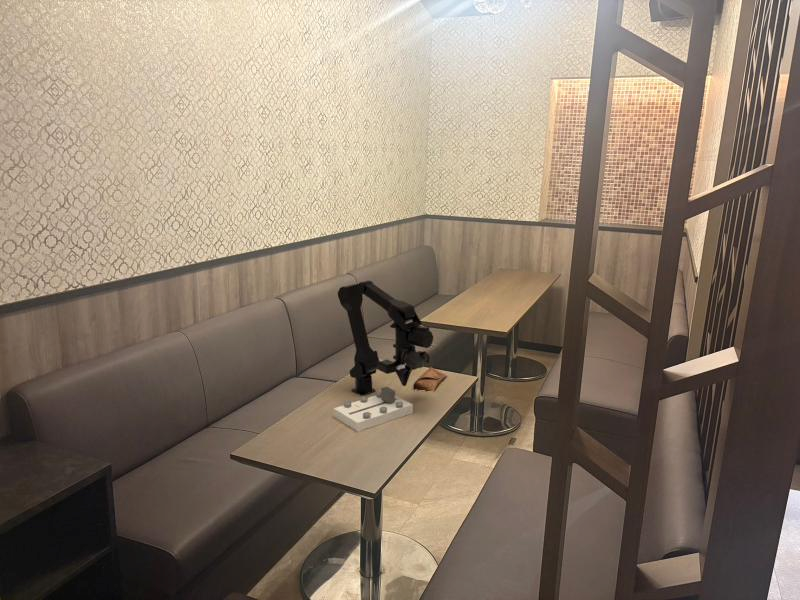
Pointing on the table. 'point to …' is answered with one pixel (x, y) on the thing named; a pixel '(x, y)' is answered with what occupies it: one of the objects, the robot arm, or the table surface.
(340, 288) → the robot arm
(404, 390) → the table surface
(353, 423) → the mixer console
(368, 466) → the table surface
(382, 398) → the fader
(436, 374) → the sunglasses case
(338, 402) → the table surface
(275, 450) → the table surface
